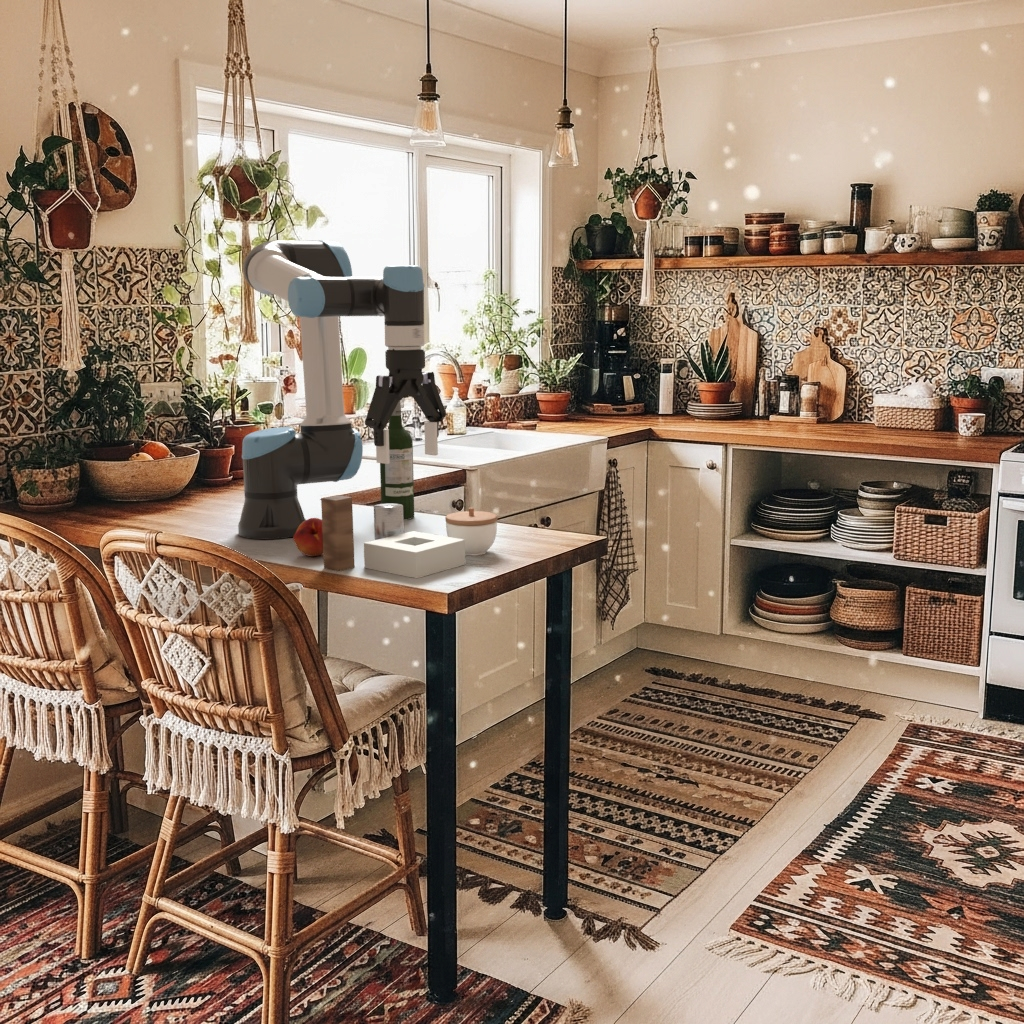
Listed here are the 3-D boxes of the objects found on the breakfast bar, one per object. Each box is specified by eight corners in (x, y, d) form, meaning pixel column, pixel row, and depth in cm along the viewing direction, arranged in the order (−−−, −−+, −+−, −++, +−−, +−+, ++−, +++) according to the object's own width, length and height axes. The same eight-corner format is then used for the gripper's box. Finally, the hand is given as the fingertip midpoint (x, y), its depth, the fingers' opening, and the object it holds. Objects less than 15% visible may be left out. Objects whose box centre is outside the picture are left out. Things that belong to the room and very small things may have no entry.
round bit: (369, 554, 235) (367, 506, 233) (389, 549, 239) (388, 502, 237) (389, 558, 231) (388, 509, 229) (410, 552, 235) (409, 505, 234)
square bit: (324, 568, 223) (321, 498, 220) (339, 564, 226) (337, 495, 223) (338, 571, 220) (335, 500, 217) (354, 567, 223) (352, 497, 221)
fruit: (288, 560, 230) (286, 521, 229) (301, 551, 238) (300, 513, 236) (325, 561, 229) (324, 522, 227) (338, 552, 237) (336, 514, 235)
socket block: (364, 567, 223) (363, 542, 222) (413, 554, 233) (413, 531, 233) (416, 578, 214) (415, 552, 213) (465, 564, 225) (464, 539, 224)
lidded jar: (508, 551, 236) (508, 507, 234) (472, 560, 228) (472, 515, 226) (471, 544, 243) (470, 501, 241) (435, 553, 235) (434, 508, 233)
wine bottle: (392, 521, 268) (388, 394, 262) (375, 516, 274) (371, 392, 268) (420, 517, 272) (417, 392, 267) (403, 512, 279) (400, 390, 273)
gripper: (372, 351, 204) (376, 468, 208) (462, 346, 223) (464, 453, 227) (343, 350, 208) (347, 464, 212) (434, 345, 228) (436, 450, 232)
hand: (407, 459), depth 220 cm, fingers open, 13 cm apart
